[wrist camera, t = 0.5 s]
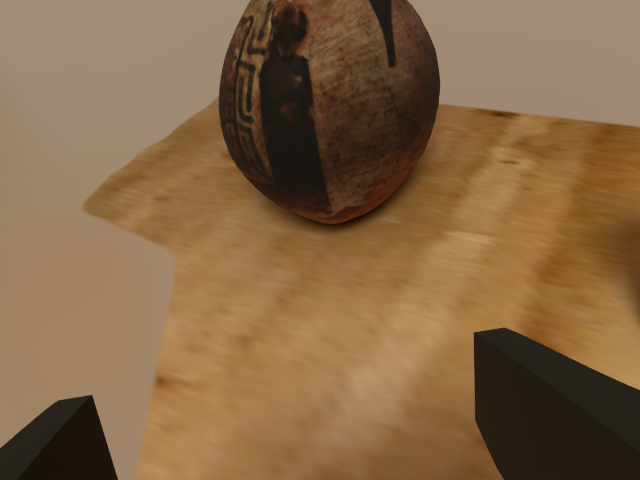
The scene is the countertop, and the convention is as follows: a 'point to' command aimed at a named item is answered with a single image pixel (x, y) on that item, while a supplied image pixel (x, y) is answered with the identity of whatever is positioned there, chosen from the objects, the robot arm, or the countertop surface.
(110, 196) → the countertop surface
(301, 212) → the ceramic vessel
